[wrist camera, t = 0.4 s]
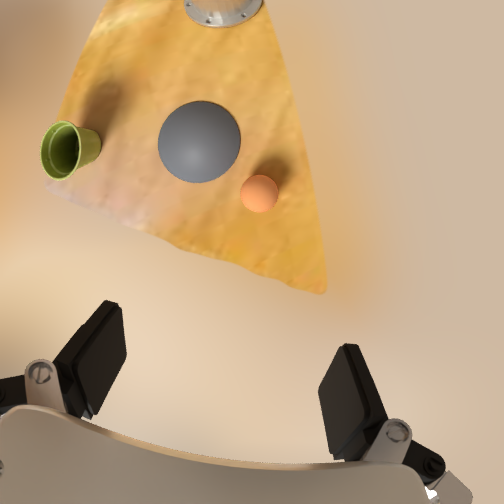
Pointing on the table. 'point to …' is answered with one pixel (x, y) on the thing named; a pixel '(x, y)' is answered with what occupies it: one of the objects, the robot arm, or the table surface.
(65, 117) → the table surface
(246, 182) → the ball
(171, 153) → the disc
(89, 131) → the plant pot
